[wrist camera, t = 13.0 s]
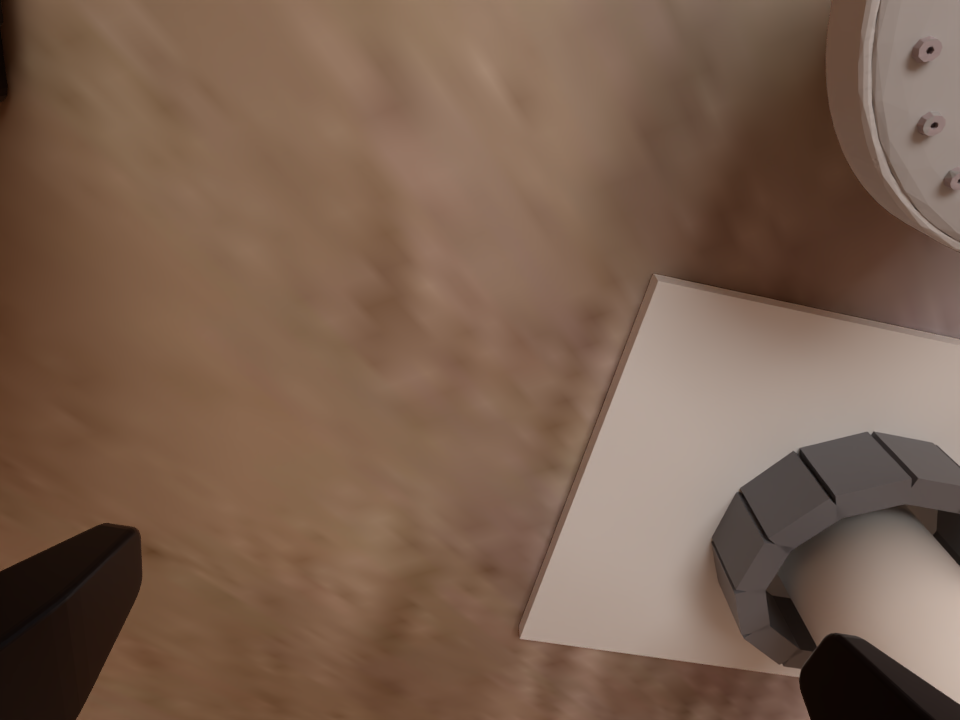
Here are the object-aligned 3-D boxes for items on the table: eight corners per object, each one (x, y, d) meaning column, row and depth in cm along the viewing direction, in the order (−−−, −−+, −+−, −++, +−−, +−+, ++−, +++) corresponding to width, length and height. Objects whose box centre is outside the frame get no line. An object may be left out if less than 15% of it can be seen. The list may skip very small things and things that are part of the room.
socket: (518, 626, 26) (523, 694, 24) (652, 273, 19) (683, 316, 16) (944, 686, 29) (992, 753, 26) (1215, 394, 21) (1321, 448, 18)
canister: (770, 596, 25) (992, 1028, 14) (757, 501, 22) (1012, 937, 12) (909, 565, 24) (1250, 998, 14) (910, 463, 22) (1327, 893, 11)
